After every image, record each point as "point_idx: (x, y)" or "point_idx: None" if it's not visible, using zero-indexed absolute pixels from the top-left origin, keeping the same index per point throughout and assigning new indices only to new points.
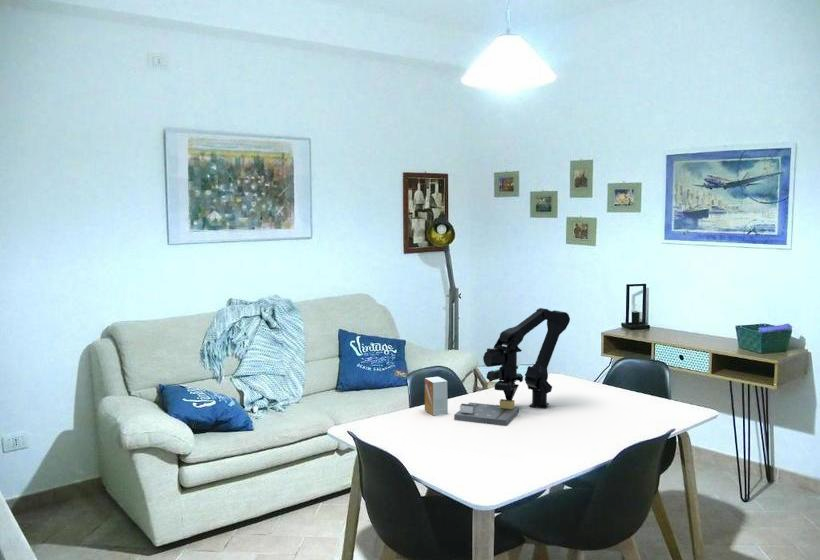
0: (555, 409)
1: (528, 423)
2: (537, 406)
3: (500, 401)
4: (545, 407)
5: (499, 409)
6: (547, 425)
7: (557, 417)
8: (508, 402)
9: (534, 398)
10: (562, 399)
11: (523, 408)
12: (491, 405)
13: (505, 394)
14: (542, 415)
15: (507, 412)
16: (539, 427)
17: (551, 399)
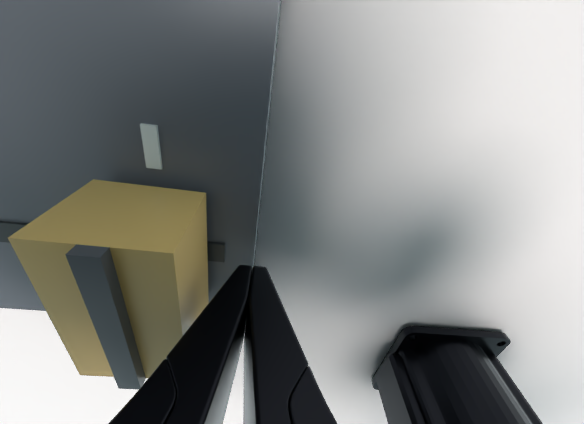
0: (361, 403)
1: (32, 349)
2: (382, 365)
3: (16, 248)
4: (373, 386)
5: (71, 175)
6: (69, 403)
7: (225, 415)
8: (68, 338)
9: (408, 419)
10: (542, 407)
11: (370, 297)
12: (223, 11)
13: (135, 401)
14: (235, 379)
15: (18, 267)
16: (5, 387)
17: (560, 381)
